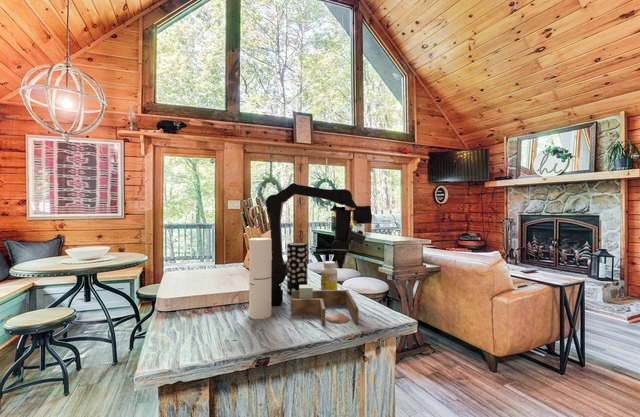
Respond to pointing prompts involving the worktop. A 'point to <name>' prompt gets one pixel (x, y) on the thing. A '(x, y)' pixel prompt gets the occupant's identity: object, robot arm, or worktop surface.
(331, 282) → the supplement bottle
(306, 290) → the block
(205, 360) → the worktop surface
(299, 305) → the channel
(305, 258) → the white-spotted black cylinder
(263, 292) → the cylindrical container
